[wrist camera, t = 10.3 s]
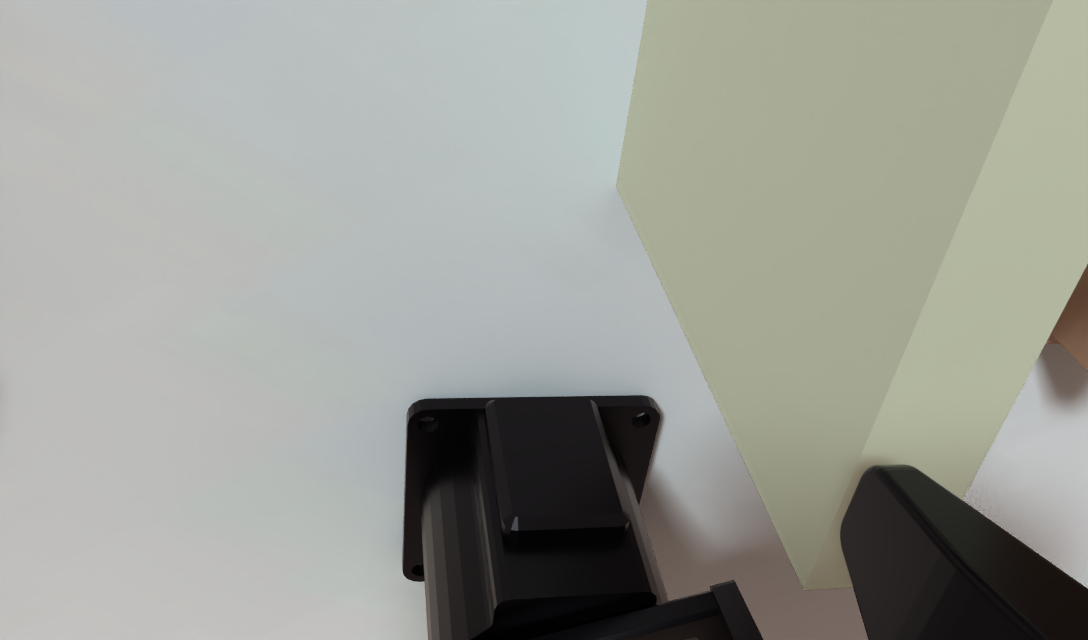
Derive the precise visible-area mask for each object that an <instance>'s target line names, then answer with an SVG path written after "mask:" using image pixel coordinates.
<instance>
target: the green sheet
mask: <svg viewBox="0 0 1088 640" xmlns="http://www.w3.org/2000/svg"><path fill="white" fill-rule="evenodd" d="M616 187H617V190H618V192H619V194H620V196H621V198H622V200H623V202H624V205H625V207H626V209H627V211H628V213H629V215H630V218H631V220H632V222H633V224H634V226H635V228H636V230H637V233H638V235H639V237H640V239H641V241H642V243H643V246H644V248H645V250H646V252H647V254H648V256H649V258H650V261H651V263H652V265H653V267H654V269H655V271H656V273H657V276H658V278H659V280H660V282H661V284H662V286H663V289H664V291H665V293H666V295H667V297H668V299H669V301H670V304H671V306H672V308H673V310H674V312H675V314H676V317H677V319H678V321H679V323H680V325H681V327H682V329H683V332H684V334H685V336H686V338H687V340H688V342H689V344H690V347H691V349H692V351H693V353H694V355H695V357H696V360H697V362H698V364H699V366H700V368H701V370H702V372H703V375H704V377H705V379H706V381H707V383H708V385H709V388H710V390H711V392H712V394H713V396H714V398H715V400H716V403H717V405H718V407H719V409H720V411H721V413H722V416H723V418H724V420H725V422H726V424H727V426H728V428H729V431H730V433H731V435H732V437H733V439H734V441H735V443H736V446H737V448H738V450H739V452H740V454H741V456H742V459H743V461H744V463H745V465H746V467H747V469H748V471H749V474H750V476H751V478H752V480H753V482H754V484H755V487H756V489H757V491H758V493H759V495H760V497H761V499H762V502H763V504H764V506H765V508H766V510H767V512H768V514H769V517H770V519H771V521H772V523H773V525H774V527H775V530H776V532H777V534H778V536H779V538H780V540H781V542H782V545H783V547H784V549H785V551H786V553H787V555H788V558H789V560H790V562H791V564H792V566H793V568H794V570H795V573H796V575H797V577H798V579H799V581H800V583H801V585H802V588H803V590H820V589H836V588H852V587H853V585H852V582H851V578H850V575H849V572H848V568H847V565H846V561H845V558H844V555H843V551H842V547H841V541H840V529H841V523H842V520H843V518H844V515H845V513H846V511H847V508H848V506H849V504H850V502H851V499H852V497H853V495H854V492H855V490H856V488H857V485H858V483H859V481H860V478H861V476H862V474H863V473H864V471H866V470H867V469H868V468H869V467H870V466H874V465H897V464H905V465H911V466H913V467H915V468H917V469H918V470H920V471H921V472H923V473H924V474H926V475H927V476H929V477H930V478H931V479H933V480H934V481H936V482H937V483H938V484H940V485H941V486H943V487H944V488H946V489H947V490H948V491H950V492H951V493H953V494H954V495H955V496H957V497H958V498H960V499H961V500H963V498H964V496H965V494H966V493H967V491H968V489H969V487H970V485H971V483H972V481H973V479H974V477H975V476H976V474H977V472H978V470H979V468H980V466H981V464H982V462H983V460H984V459H985V457H986V455H987V453H988V451H989V449H990V447H991V445H992V443H993V442H994V440H995V438H996V436H997V434H998V432H999V430H1000V428H1001V427H1002V425H1003V423H1004V421H1005V419H1006V417H1007V415H1008V413H1009V411H1010V410H1011V408H1012V406H1013V404H1014V402H1015V400H1016V398H1017V396H1018V394H1019V393H1020V391H1021V389H1022V387H1023V385H1024V383H1025V381H1026V379H1027V377H1028V376H1029V374H1030V372H1031V370H1032V368H1033V366H1034V364H1035V362H1036V360H1037V359H1038V357H1039V355H1040V353H1041V351H1042V349H1043V347H1044V345H1045V344H1046V342H1047V340H1048V338H1049V336H1050V334H1051V332H1052V330H1053V328H1054V327H1055V325H1056V323H1057V321H1058V319H1059V317H1060V315H1061V313H1062V311H1063V310H1064V308H1065V306H1066V304H1067V302H1068V300H1069V298H1070V296H1071V294H1072V293H1073V291H1074V289H1075V287H1076V285H1077V283H1078V281H1079V279H1080V277H1081V276H1082V274H1083V272H1084V270H1085V268H1086V266H1087V264H1088V0H648V2H647V8H646V13H645V19H644V25H643V31H642V37H641V43H640V48H639V54H638V60H637V66H636V72H635V78H634V83H633V89H632V95H631V101H630V107H629V113H628V118H627V124H626V130H625V136H624V142H623V148H622V153H621V159H620V165H619V171H618V177H617V183H616Z"/></svg>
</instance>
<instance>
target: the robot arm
mask: <svg viewBox="0 0 1088 640" xmlns="http://www.w3.org/2000/svg"><path fill="white" fill-rule="evenodd" d="M639 413H645V414H644V415H642V416H640V417H634V416H635V415H637V414H639ZM425 417H432V418H434V419H433V420H432V421H427V422H426V421H421V419H422V418H425ZM659 420H660V414H659V412H658V409H657V406H656V404H655V402H654V401H653V399H651V398H649V397H648V396H641V395H640V396H575V397H510V398H445V399H423V400H419V401H417V402H415V403H413V404H412V405H411V406H410V407H409V409H408V412H407V425H406V457H405V490H404V522H403V554H402V565H403V574H404V576H405V577H406V578H407V579H409V580H412V581H419V582H422V581H425V595H426V612H427V629H428V640H763V638H762V636H761V634H760V632H759V630H758V628H757V626H756V624H755V622H754V620H753V618H752V616H751V614H750V611H749V609H748V607H747V605H746V603H745V601H744V599H743V597H742V595H741V593H740V591H739V589H738V587H737V585H736V583H735V581H734V580H732V581H728V582H724V583H720V584H716V585H713V586H710V591H706V592H703V593H699V594H695V595H691V596H687V597H684V598H680V599H676V600H672V601H669V600H668V597H667V594H666V591H665V588H664V584H663V581H662V578H661V575H660V572H659V569H658V565H657V562H656V559H655V556H654V553H653V549H652V546H651V543H650V540H649V537H648V534H647V530H646V527H645V524H644V521H643V518H642V514H641V511H640V508H639V503H640V499H641V495H642V491H643V487H644V482H645V478H646V474H647V470H648V466H649V462H650V458H651V453H652V449H653V445H654V441H655V437H656V433H657V429H658V425H659ZM840 541H841V547H842V551H843V555H844V558H845V561H846V565H847V568H848V572H849V575H850V578H851V582H852V585H853V588H854V592H855V595H856V599H857V602H858V605H859V609H860V612H861V616H862V619H863V622H864V626H865V629H866V632H867V636H868V639H869V640H1088V589H1087V588H1086V587H1084V586H1083V585H1082V584H1080V583H1079V582H1077V581H1076V580H1075V579H1073V578H1072V577H1070V576H1069V575H1067V574H1066V573H1065V572H1063V571H1062V570H1060V569H1059V568H1058V567H1056V566H1055V565H1053V564H1052V563H1050V562H1049V561H1048V560H1046V559H1045V558H1043V557H1042V556H1041V555H1039V554H1038V553H1036V552H1035V551H1033V550H1032V549H1031V548H1029V547H1028V546H1026V545H1025V544H1024V543H1022V542H1021V541H1019V540H1018V539H1016V538H1015V537H1014V536H1012V535H1011V534H1009V533H1008V532H1006V531H1005V530H1004V529H1002V528H1001V527H999V526H998V525H997V524H995V523H994V522H992V521H991V520H989V519H988V518H987V517H985V516H984V515H982V514H981V513H980V512H978V511H977V510H975V509H974V508H972V507H971V506H970V505H968V504H967V503H965V502H964V501H963V500H961V499H960V498H958V497H957V496H955V495H954V494H953V493H951V492H950V491H948V490H947V489H946V488H944V487H943V486H941V485H940V484H938V483H937V482H936V481H934V480H933V479H931V478H930V477H929V476H927V475H926V474H924V473H923V472H921V471H920V470H918V469H917V468H915V467H913V466H911V465H905V464H897V465H874V466H870V467H869V468H868V469H867V470H866V471H864V473H863V474H862V476H861V478H860V481H859V483H858V485H857V488H856V490H855V492H854V495H853V497H852V499H851V502H850V504H849V506H848V508H847V511H846V513H845V515H844V518H843V520H842V523H841V529H840ZM419 564H421V565H419Z"/></svg>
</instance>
